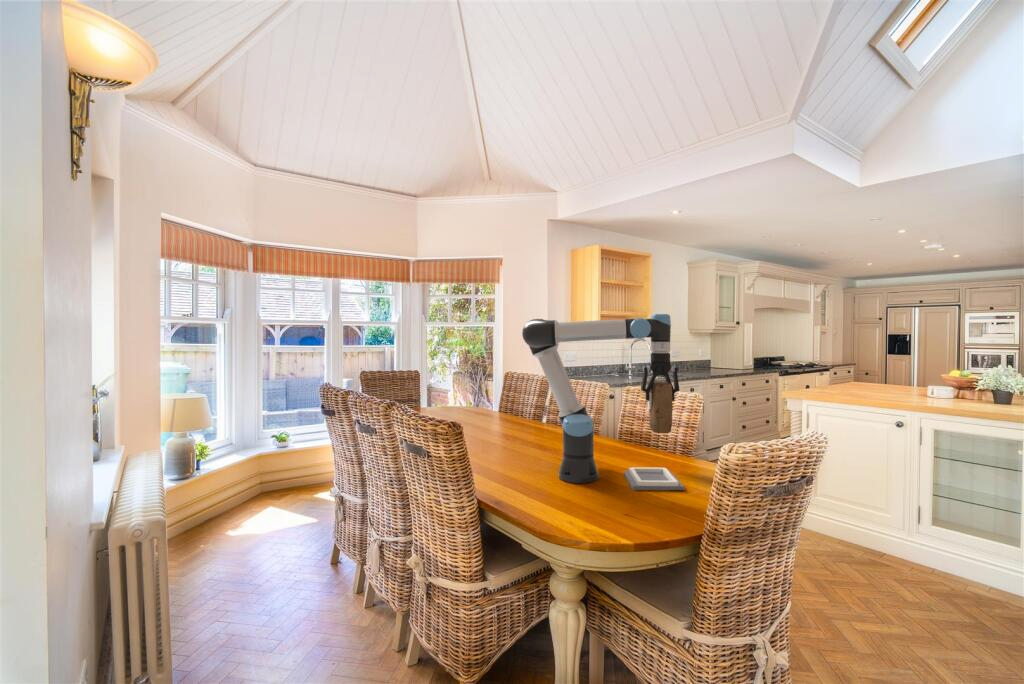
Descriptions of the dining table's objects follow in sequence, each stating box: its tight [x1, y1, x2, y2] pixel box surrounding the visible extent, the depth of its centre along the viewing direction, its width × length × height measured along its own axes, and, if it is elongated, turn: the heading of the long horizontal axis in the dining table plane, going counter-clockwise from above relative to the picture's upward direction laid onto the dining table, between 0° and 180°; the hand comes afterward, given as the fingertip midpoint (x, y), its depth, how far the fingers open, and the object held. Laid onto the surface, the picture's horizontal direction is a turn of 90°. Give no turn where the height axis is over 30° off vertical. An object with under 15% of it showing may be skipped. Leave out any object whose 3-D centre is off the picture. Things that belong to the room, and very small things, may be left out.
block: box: [648, 381, 673, 435], centre depth 189 cm, size 11×8×20 cm
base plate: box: [623, 466, 686, 491], centre depth 175 cm, size 18×18×3 cm
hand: (659, 408), depth 189 cm, fingers closed on block, 7 cm apart
